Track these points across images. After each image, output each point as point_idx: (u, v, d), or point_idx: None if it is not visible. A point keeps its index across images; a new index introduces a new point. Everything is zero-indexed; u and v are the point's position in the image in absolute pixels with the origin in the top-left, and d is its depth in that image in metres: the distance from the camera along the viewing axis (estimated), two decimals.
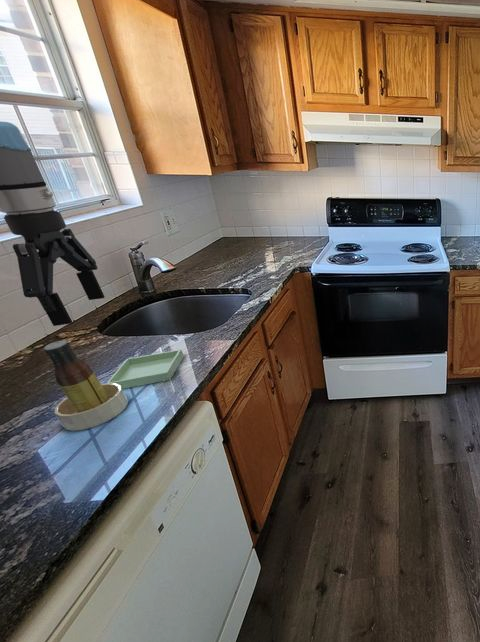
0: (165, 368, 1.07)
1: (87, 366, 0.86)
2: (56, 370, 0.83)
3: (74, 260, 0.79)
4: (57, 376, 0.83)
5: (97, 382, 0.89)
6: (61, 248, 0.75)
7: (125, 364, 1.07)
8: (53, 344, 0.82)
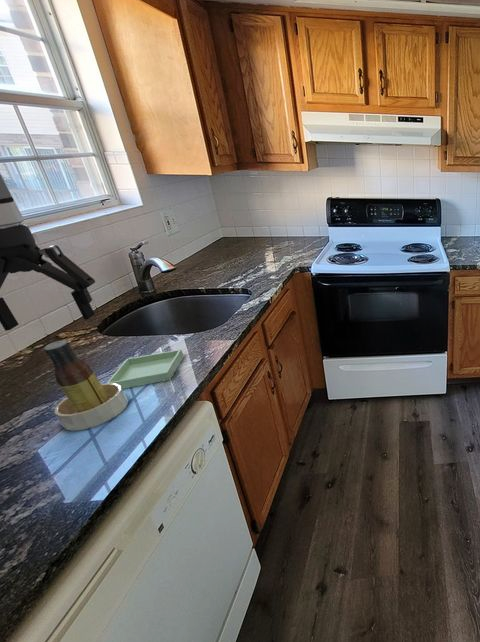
0: (165, 368, 1.07)
1: (87, 366, 0.86)
2: (56, 370, 0.83)
3: (1, 282, 0.75)
4: (57, 376, 0.83)
5: (97, 382, 0.89)
6: None
7: (125, 364, 1.07)
8: (53, 344, 0.82)
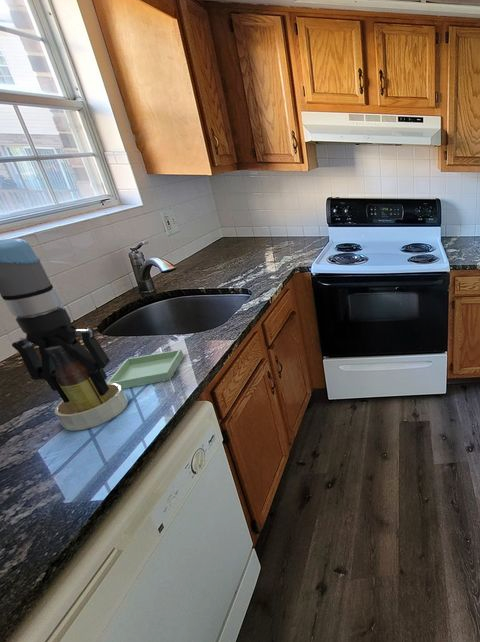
0: (165, 368, 1.07)
1: None
2: (56, 370, 0.83)
3: None
4: (57, 376, 0.83)
5: None
6: None
7: (125, 364, 1.07)
8: None
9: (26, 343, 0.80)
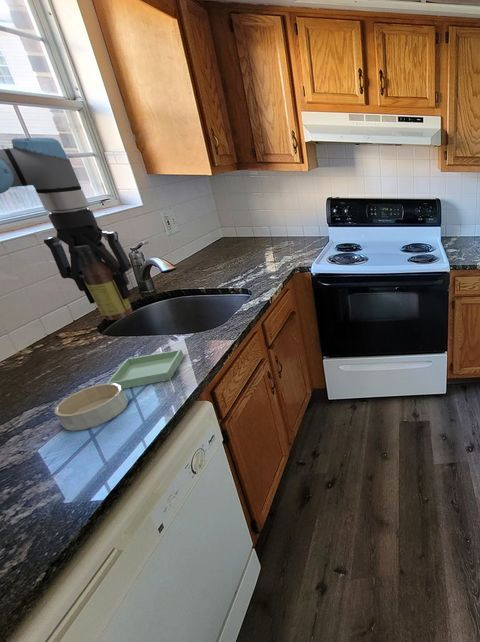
0: (165, 368, 1.07)
1: None
2: (84, 268, 0.89)
3: (80, 260, 0.90)
4: (85, 274, 0.89)
5: None
6: None
7: (125, 364, 1.07)
8: None
9: (56, 241, 0.87)
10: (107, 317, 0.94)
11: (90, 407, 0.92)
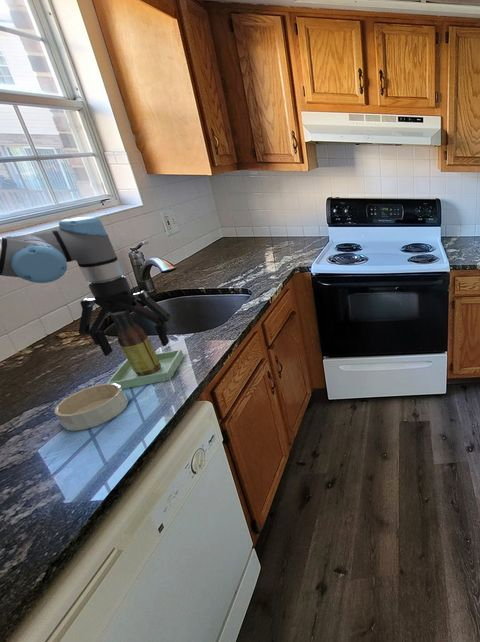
0: (165, 368, 1.07)
1: (143, 331, 1.02)
2: (119, 333, 0.98)
3: (103, 319, 0.98)
4: (120, 338, 0.98)
5: (150, 345, 1.04)
6: None
7: (125, 364, 1.07)
8: None
9: (91, 303, 0.95)
10: (138, 373, 1.03)
11: (90, 407, 0.92)
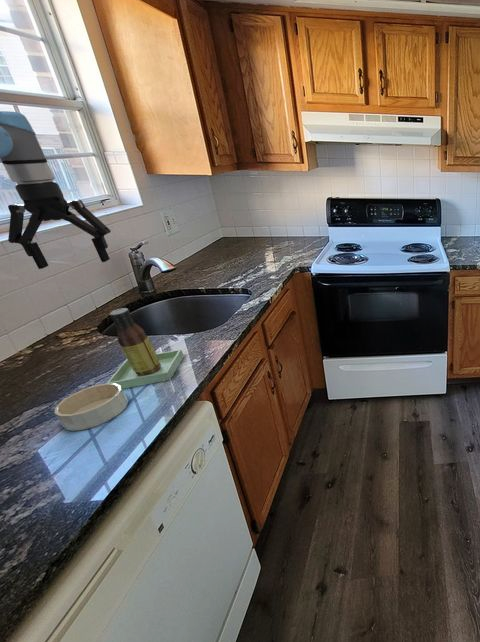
0: (165, 368, 1.07)
1: (143, 331, 1.02)
2: (119, 333, 0.98)
3: (36, 229, 0.94)
4: (120, 338, 0.98)
5: (150, 345, 1.04)
6: None
7: (125, 364, 1.07)
8: (116, 311, 0.98)
9: (21, 209, 0.91)
10: (138, 373, 1.03)
11: (90, 407, 0.92)
